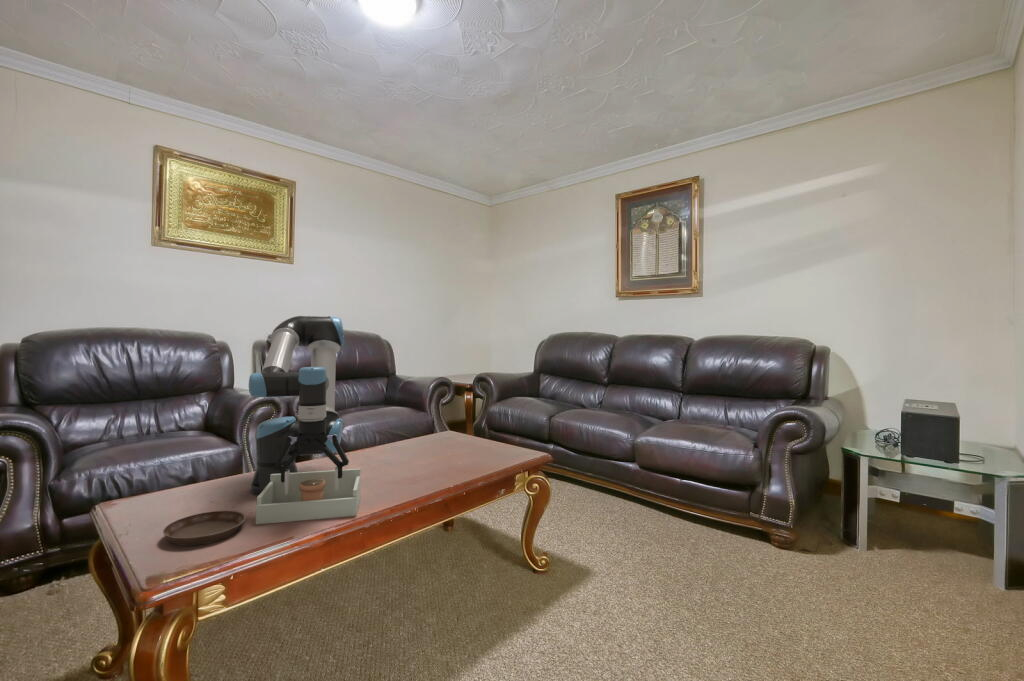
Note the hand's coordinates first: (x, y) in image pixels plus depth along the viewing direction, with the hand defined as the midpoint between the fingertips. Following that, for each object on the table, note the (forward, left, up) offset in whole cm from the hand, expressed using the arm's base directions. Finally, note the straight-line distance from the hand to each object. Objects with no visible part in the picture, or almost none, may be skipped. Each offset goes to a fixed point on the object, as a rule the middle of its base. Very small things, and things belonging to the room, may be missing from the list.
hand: (312, 491), depth 135 cm
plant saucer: (+11, -24, -6) cm, 27 cm away
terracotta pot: (0, 0, -6) cm, 6 cm away
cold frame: (0, 0, -6) cm, 6 cm away
